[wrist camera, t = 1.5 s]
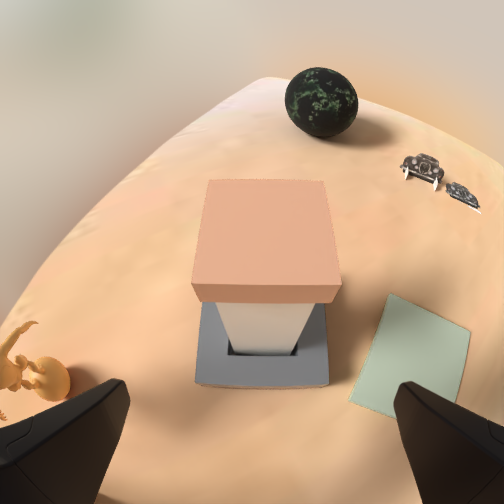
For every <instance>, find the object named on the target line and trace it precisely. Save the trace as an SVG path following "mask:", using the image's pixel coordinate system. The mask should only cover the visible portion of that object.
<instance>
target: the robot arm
mask: <svg viewBox="0 0 504 504" xmlns="http://www.w3.org/2000/svg"><path fill="white" fill-rule="evenodd" d="M129 406H130V396H129V393H128V390H127V387H126V384H125V382H124V381H123V380H120V379H115V378H112V379H110V380H108V381H106V382H104V383H102V384H100V385H98V386H96V387H94V388H92V389H90V390H88V391H86V392H84V393H82V394H80V395H77V396H75V397H73V398H71V399H69V400H67V401H65V402H63V403H60V404H58V405H56V406H54V407H52V408H50V409H47V410H45V411H43V412H41V413H38V414H36V415H34V416H32V417H29V418H27V419H25V420H22V421H20V422H17V423H15V424H12V425H9V426H6V427H2V428H0V504H94V502H95V499H96V496H97V494H98V491H99V489H100V486H101V484H102V481H103V478H104V476H105V473H106V471H107V469H108V466H109V464H110V461H111V459H112V456H113V454H114V452H115V449H116V447H117V445H118V442H119V439H120V436H121V433H122V430H123V426H124V423H125V420H126V416H127V413H128V410H129ZM393 407H394V411H395V415H396V419H397V423H398V427H399V431H400V435H401V439H402V442H403V445H404V448H405V451H406V454H407V457H408V460H409V462H410V465H411V468H412V471H413V474H414V477H415V480H416V483H417V487H418V490H419V493H420V496H421V499H422V503H423V504H504V427H503V426H501V425H498V424H496V423H494V422H492V421H490V420H487V419H486V418H484V417H481V416H479V415H477V414H475V413H473V412H471V411H469V410H467V409H465V408H463V407H461V406H459V405H457V404H455V403H453V402H451V401H449V400H447V399H446V398H444V397H442V396H440V395H438V394H436V393H434V392H432V391H430V390H428V389H426V388H424V387H423V386H421V385H419V384H417V383H415V382H413V381H407V382H402V383H401V384H400V385H399V387H398V390H397V393H396V396H395V398H394V402H393Z"/></svg>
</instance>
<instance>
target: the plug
mask: <svg viewBox="0 0 504 504" xmlns="http://www.w3.org/2000/svg"><path fill="white" fill-rule="evenodd" d="M191 284H192V286H193V288H194V290H195V292H196V295H197V297H198V299H199V301H200V302H215V303H216V306H217V308H218V311H219V314H220V316H221V319H222V322H223V324H224V327H225V330H226V332H227V335H228V337H229V340H230V342H231V345H232V348H233V350H234V353H235V355H236V356H290V354H291V352H292V350H293V348H294V346H295V344H296V342H297V340H298V338H299V336H300V334H301V332H302V330H303V328H304V326H305V324H306V322H307V320H308V318H309V316H310V314H311V311H312V309H313V307H314V305H315V303H332V301H333V299H334V298H335V296H336V294H337V292H338V291H339V289H340V287H341V285H342V283H341V275H340V268H339V262H338V255H337V249H336V243H335V237H334V232H333V226H332V221H331V215H330V210H329V205H328V200H327V195H326V191H325V186H324V181H311V180H279V179H222V180H209V182H208V187H207V193H206V198H205V203H204V208H203V214H202V219H201V225H200V231H199V236H198V242H197V248H196V255H195V261H194V267H193V274H192V281H191Z"/></svg>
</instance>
